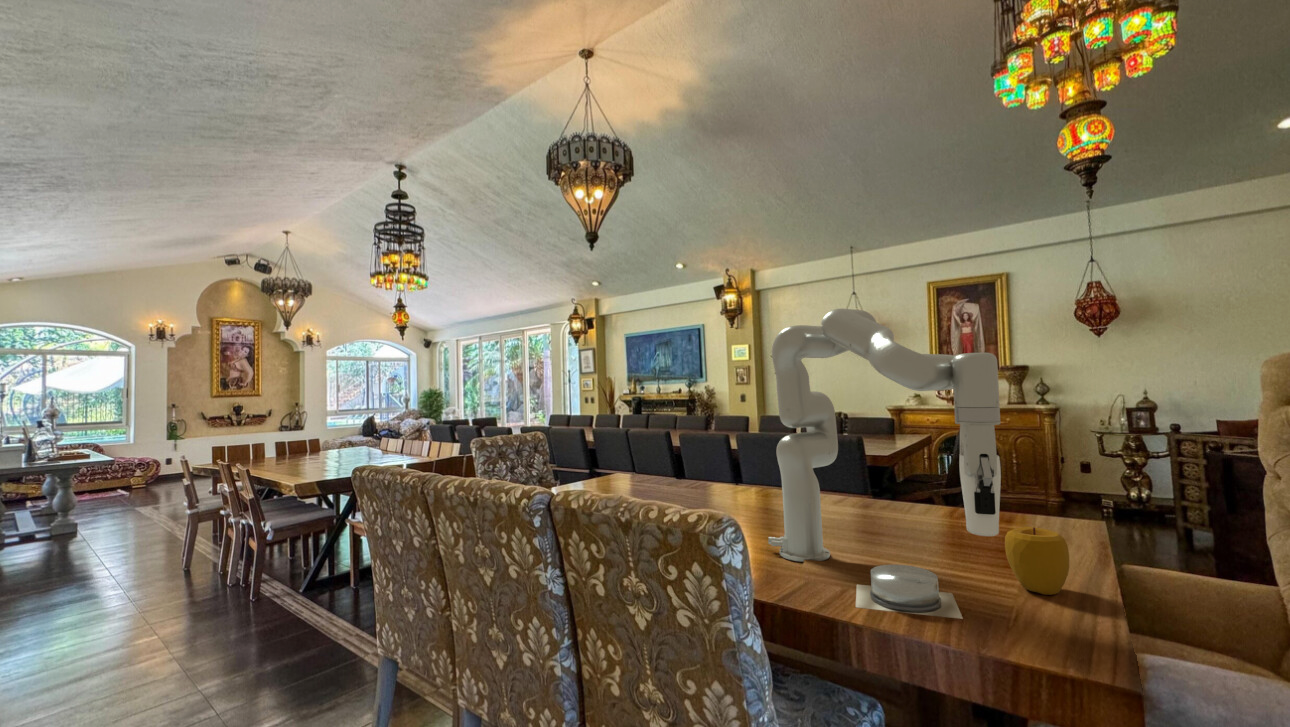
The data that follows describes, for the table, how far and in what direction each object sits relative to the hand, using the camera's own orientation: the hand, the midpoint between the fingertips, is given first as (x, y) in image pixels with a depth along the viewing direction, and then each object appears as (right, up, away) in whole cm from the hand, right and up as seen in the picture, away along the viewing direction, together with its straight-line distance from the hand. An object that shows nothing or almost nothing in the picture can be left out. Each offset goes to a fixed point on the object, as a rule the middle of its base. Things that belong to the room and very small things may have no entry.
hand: (981, 508), depth 104 cm
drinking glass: (0, -5, 0) cm, 5 cm away
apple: (+16, -19, +7) cm, 26 cm away
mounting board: (-14, -20, +2) cm, 24 cm away
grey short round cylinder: (-14, -19, +2) cm, 23 cm away
